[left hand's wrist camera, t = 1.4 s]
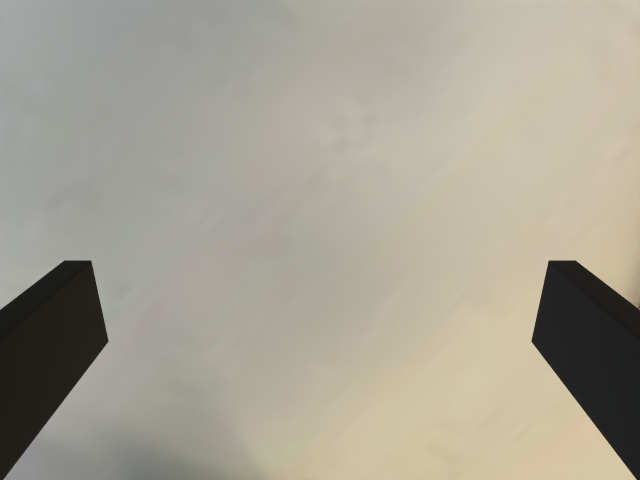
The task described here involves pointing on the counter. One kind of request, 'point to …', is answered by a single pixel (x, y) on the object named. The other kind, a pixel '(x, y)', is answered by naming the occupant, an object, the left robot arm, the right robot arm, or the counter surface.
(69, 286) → the left robot arm
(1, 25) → the counter surface
